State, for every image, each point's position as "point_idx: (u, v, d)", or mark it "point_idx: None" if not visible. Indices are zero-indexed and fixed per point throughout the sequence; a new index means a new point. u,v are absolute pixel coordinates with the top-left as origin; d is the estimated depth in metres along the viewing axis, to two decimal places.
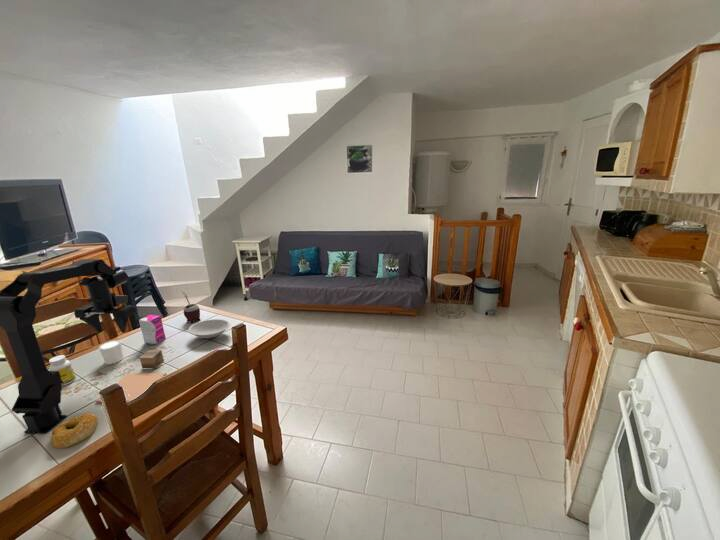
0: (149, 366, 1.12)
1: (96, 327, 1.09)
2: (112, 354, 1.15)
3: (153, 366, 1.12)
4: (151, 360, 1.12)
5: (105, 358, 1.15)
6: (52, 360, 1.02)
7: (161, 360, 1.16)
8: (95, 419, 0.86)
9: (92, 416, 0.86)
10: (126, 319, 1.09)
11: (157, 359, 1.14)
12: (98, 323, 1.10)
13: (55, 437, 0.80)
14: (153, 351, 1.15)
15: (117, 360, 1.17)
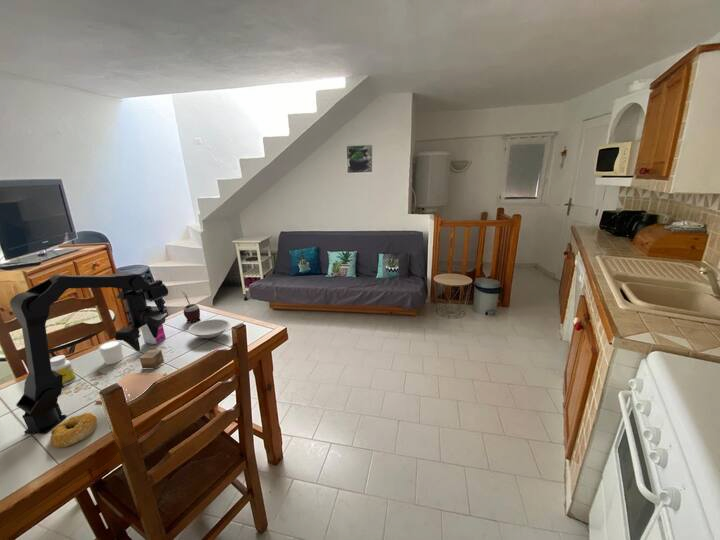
0: (149, 366, 1.12)
1: (151, 332, 1.16)
2: (112, 354, 1.15)
3: (153, 366, 1.12)
4: (151, 360, 1.12)
5: (105, 358, 1.15)
6: (52, 360, 1.02)
7: (161, 360, 1.16)
8: (95, 419, 0.86)
9: (92, 416, 0.86)
10: (134, 341, 1.05)
11: (157, 359, 1.14)
12: (154, 329, 1.16)
13: (55, 436, 0.80)
14: (153, 351, 1.15)
15: (117, 360, 1.17)
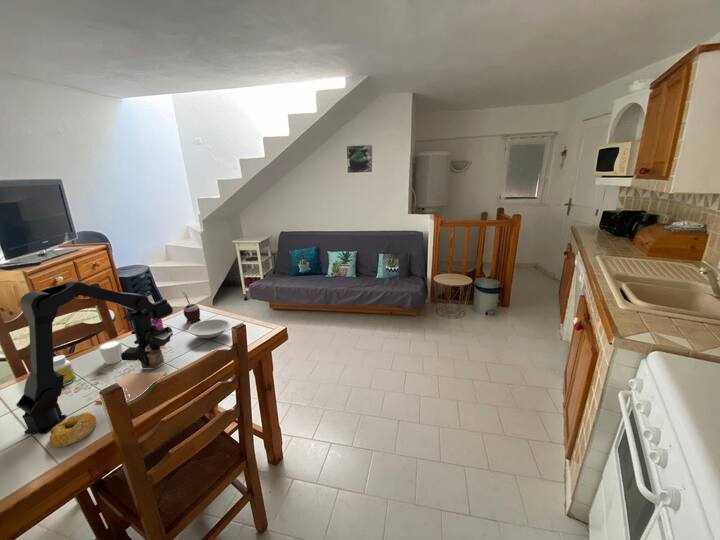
0: (149, 366, 1.12)
1: None
2: (112, 354, 1.15)
3: (153, 366, 1.12)
4: (151, 360, 1.12)
5: (105, 358, 1.15)
6: None
7: (161, 360, 1.16)
8: (94, 418, 0.86)
9: (91, 415, 0.86)
10: (144, 357, 1.09)
11: (157, 359, 1.14)
12: None
13: (54, 436, 0.80)
14: (153, 351, 1.15)
15: (117, 360, 1.17)
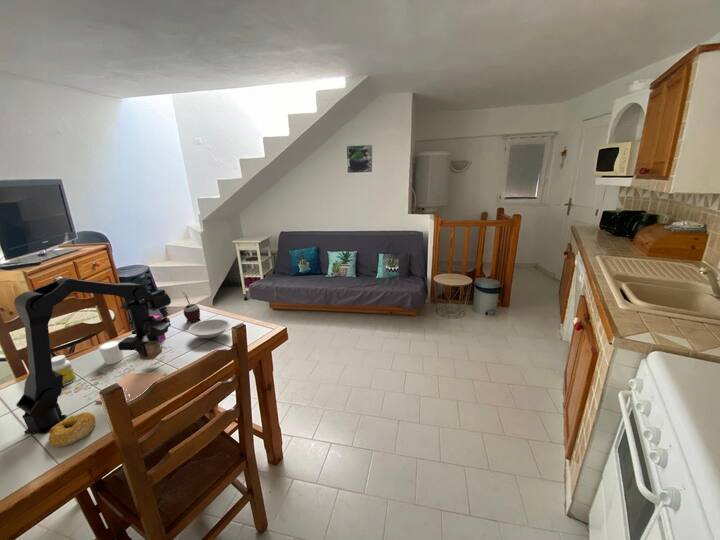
0: (147, 357, 1.11)
1: None
2: (112, 354, 1.15)
3: (151, 357, 1.11)
4: (149, 350, 1.10)
5: (105, 358, 1.15)
6: (52, 360, 1.02)
7: (159, 351, 1.15)
8: (93, 418, 0.87)
9: (90, 415, 0.86)
10: (141, 348, 1.08)
11: (154, 350, 1.12)
12: None
13: (53, 436, 0.80)
14: (151, 342, 1.14)
15: (117, 360, 1.17)
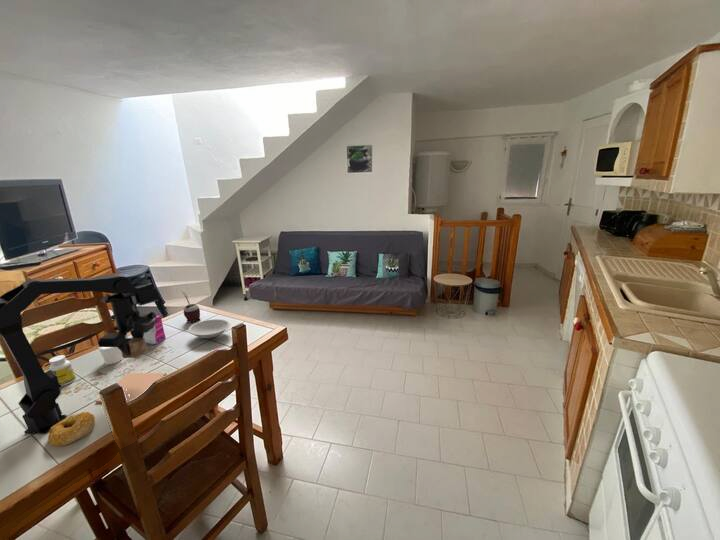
0: (130, 355, 1.03)
1: None
2: (112, 354, 1.15)
3: (135, 355, 1.02)
4: (132, 348, 1.02)
5: (105, 358, 1.15)
6: (52, 360, 1.02)
7: (144, 349, 1.06)
8: (92, 418, 0.87)
9: (89, 415, 0.86)
10: (124, 345, 0.99)
11: (139, 347, 1.04)
12: None
13: (52, 435, 0.81)
14: (135, 339, 1.05)
15: (117, 360, 1.17)
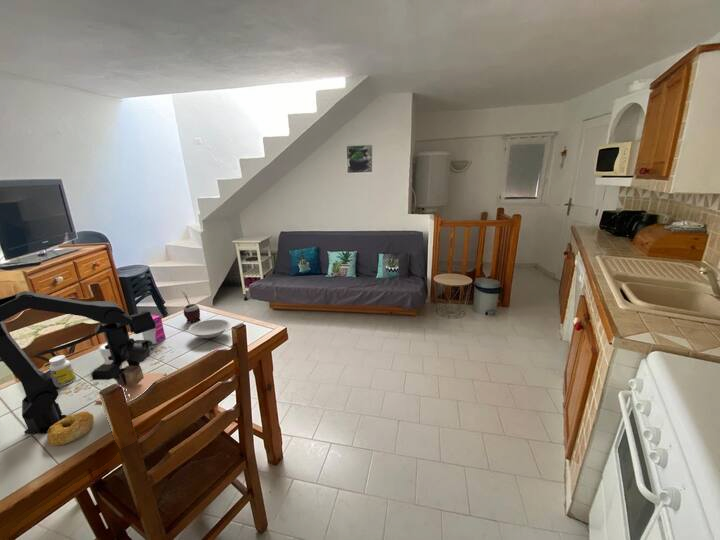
0: (126, 384, 0.99)
1: None
2: None
3: (130, 384, 0.99)
4: (128, 378, 0.98)
5: (105, 358, 1.15)
6: (52, 360, 1.02)
7: (140, 377, 1.03)
8: (91, 417, 0.87)
9: (88, 414, 0.87)
10: (119, 375, 0.96)
11: (135, 376, 1.01)
12: None
13: (51, 435, 0.81)
14: (131, 367, 1.02)
15: None
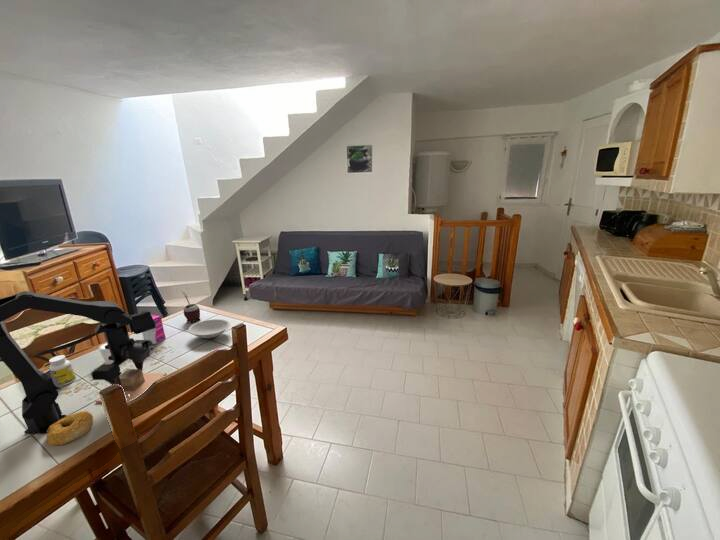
0: (127, 388, 1.00)
1: (136, 365, 1.05)
2: None
3: (132, 388, 1.00)
4: (129, 381, 0.99)
5: (105, 358, 1.15)
6: (52, 360, 1.02)
7: (141, 380, 1.03)
8: (90, 417, 0.87)
9: (87, 414, 0.87)
10: (114, 379, 0.94)
11: (136, 380, 1.01)
12: (139, 362, 1.05)
13: (51, 435, 0.81)
14: (132, 370, 1.02)
15: None
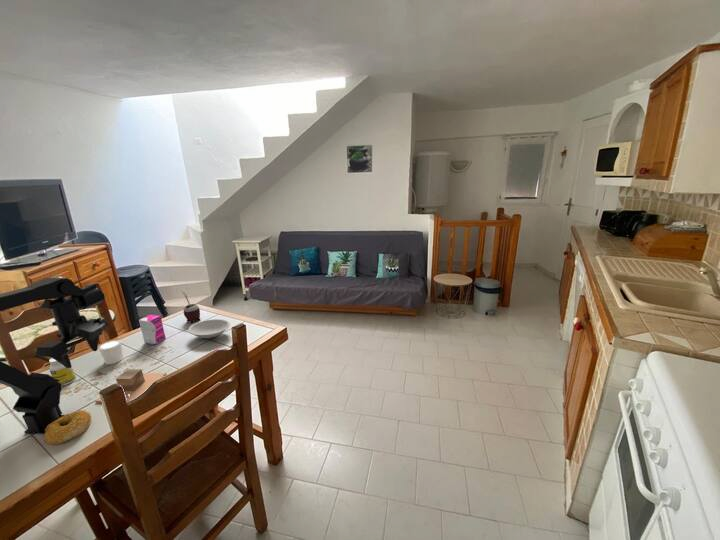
0: (127, 388, 1.00)
1: (90, 344, 1.01)
2: (112, 354, 1.15)
3: (132, 388, 1.00)
4: (129, 381, 0.99)
5: (105, 358, 1.15)
6: (52, 360, 1.02)
7: (141, 380, 1.03)
8: (88, 416, 0.87)
9: (85, 413, 0.87)
10: (62, 357, 0.90)
11: (136, 380, 1.01)
12: (93, 342, 1.01)
13: (48, 433, 0.81)
14: (132, 370, 1.02)
15: (117, 360, 1.17)
